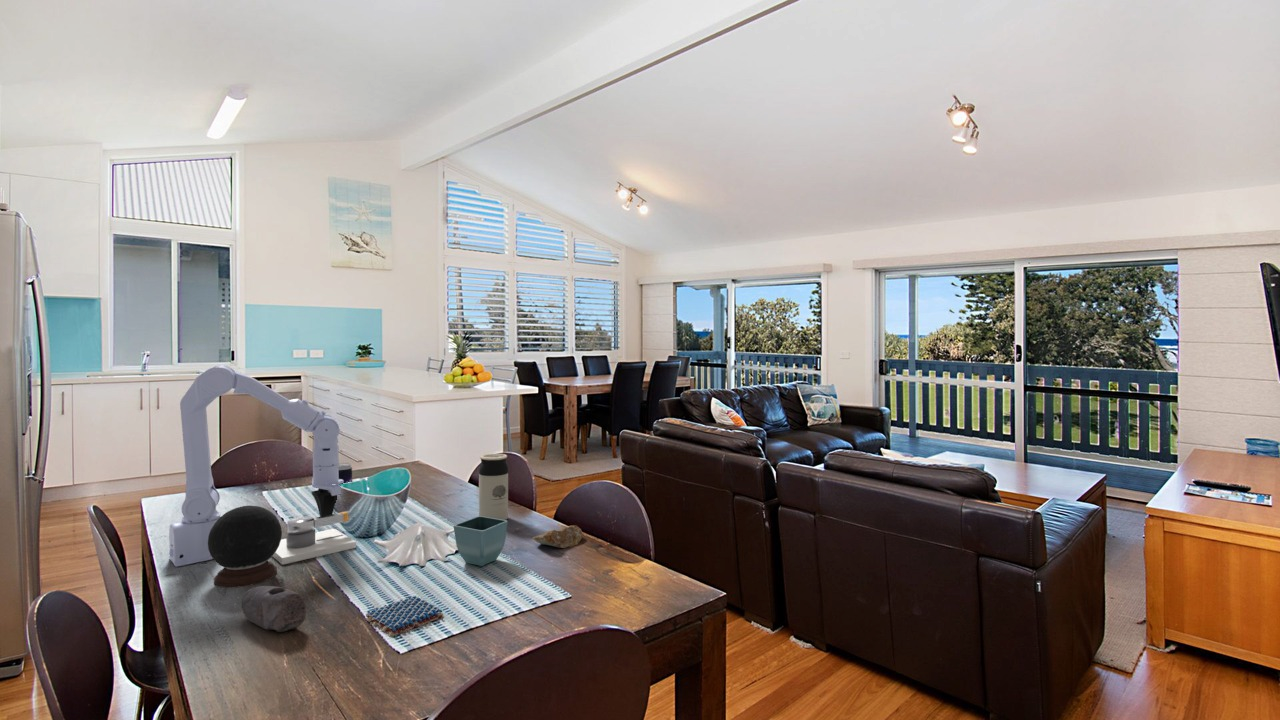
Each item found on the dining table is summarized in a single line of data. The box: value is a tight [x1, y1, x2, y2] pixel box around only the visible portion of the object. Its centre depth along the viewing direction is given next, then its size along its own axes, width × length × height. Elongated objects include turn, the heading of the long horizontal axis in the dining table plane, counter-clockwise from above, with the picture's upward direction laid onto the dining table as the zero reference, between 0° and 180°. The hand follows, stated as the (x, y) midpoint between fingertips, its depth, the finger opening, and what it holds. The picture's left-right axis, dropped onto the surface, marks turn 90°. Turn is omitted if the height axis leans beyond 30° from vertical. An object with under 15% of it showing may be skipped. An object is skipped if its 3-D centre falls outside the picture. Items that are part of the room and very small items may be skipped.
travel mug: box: [478, 453, 509, 521], centre depth 172 cm, size 8×8×18 cm
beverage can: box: [339, 462, 353, 484], centre depth 187 cm, size 6×6×12 cm
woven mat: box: [364, 595, 444, 637], centre depth 111 cm, size 10×11×2 cm
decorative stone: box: [532, 524, 583, 549], centre depth 153 cm, size 10×4×15 cm
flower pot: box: [453, 515, 508, 567], centre depth 140 cm, size 9×9×9 cm
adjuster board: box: [272, 528, 357, 565], centre depth 147 cm, size 16×14×4 cm
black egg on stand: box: [208, 505, 283, 589], centre depth 129 cm, size 13×13×15 cm
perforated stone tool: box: [240, 585, 307, 633], centre depth 108 cm, size 15×5×7 cm, turn 61°
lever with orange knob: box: [286, 511, 350, 534], centre depth 148 cm, size 14×6×2 cm, turn 137°
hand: (326, 518), depth 153 cm, fingers closed
